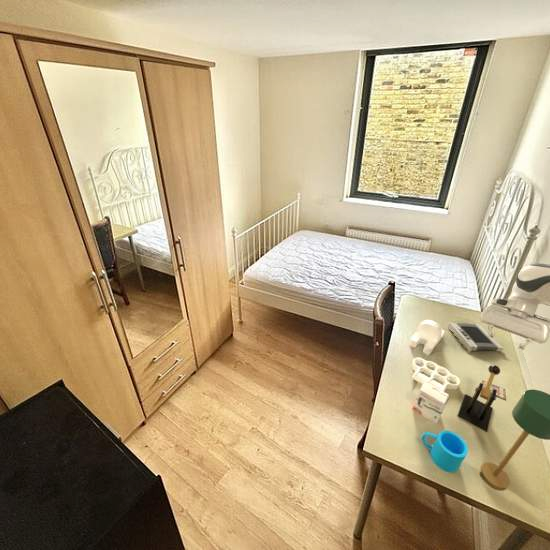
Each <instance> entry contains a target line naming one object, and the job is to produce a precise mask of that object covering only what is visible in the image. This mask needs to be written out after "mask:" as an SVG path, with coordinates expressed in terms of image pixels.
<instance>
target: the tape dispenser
mask: <svg viewBox="0 0 550 550" xmlns="http://www.w3.org/2000/svg"><path fill="white" fill-rule="evenodd" d="M444 333H445V330H444V329H442V327H441V325H440V324H439V323H438V322H436V321H434V320H431V319H425V320H423V321H422V322H421V323H420V324H419V325H417V329H416V331H415V333H414V334H413V335H412V336H411V337H410V339H409V342H408V345H409V346H410V347H412V348H413V349H415V348H416V347H417V346H418V345H419V344H420V345H423V349H422V353H423V354H426V355H431V354H432V352H433V351H434V350H435V348H436V347H437V346H438V344H439V343H440V342H441V340H442V339H443V336H444Z"/></svg>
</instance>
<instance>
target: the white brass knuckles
mask: <svg viewBox="0 0 550 550" xmlns="http://www.w3.org/2000/svg"><path fill="white" fill-rule="evenodd" d="M428 367H430V368H432V369H430V368H428ZM411 369H412V370H413V372H414V373H413V374H412V376H411V379H412V380H413V381H416V382H417V383H418V384H421V385H423V383H424V382H426V383H429V384H430V385H432V386H434V387H436V388H438V389H439V390H441V391H443V392H445V391H446V390H447V389H450V390H457V389H458V388H459V386H460V385H461V379H460V378H459V377H458V376H457V375H454V374H453V373H451V372H450V371H449V369H447V368H446V367H444V366H441V365H439V364H438V363H436V362H434V361H432V360H427V359H423V358H422V357H414V358H413V360H412V363H411ZM440 373H441V374H443V375H441V374H440ZM425 374H426V375H425ZM434 379H436V380H434ZM438 381H439V382H438ZM449 381H452V382H453V383H451V382H449ZM440 382H441V383H440Z"/></svg>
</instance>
